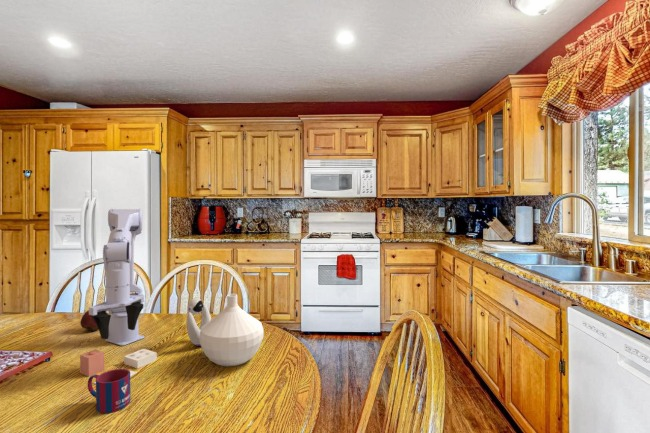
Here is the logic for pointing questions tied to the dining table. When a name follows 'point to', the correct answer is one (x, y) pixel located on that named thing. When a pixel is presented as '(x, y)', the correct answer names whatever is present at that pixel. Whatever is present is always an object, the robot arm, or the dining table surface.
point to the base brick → (140, 358)
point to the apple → (88, 322)
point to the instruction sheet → (130, 374)
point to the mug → (111, 390)
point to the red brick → (91, 362)
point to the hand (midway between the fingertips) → (118, 333)
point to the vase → (231, 335)
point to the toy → (192, 328)
